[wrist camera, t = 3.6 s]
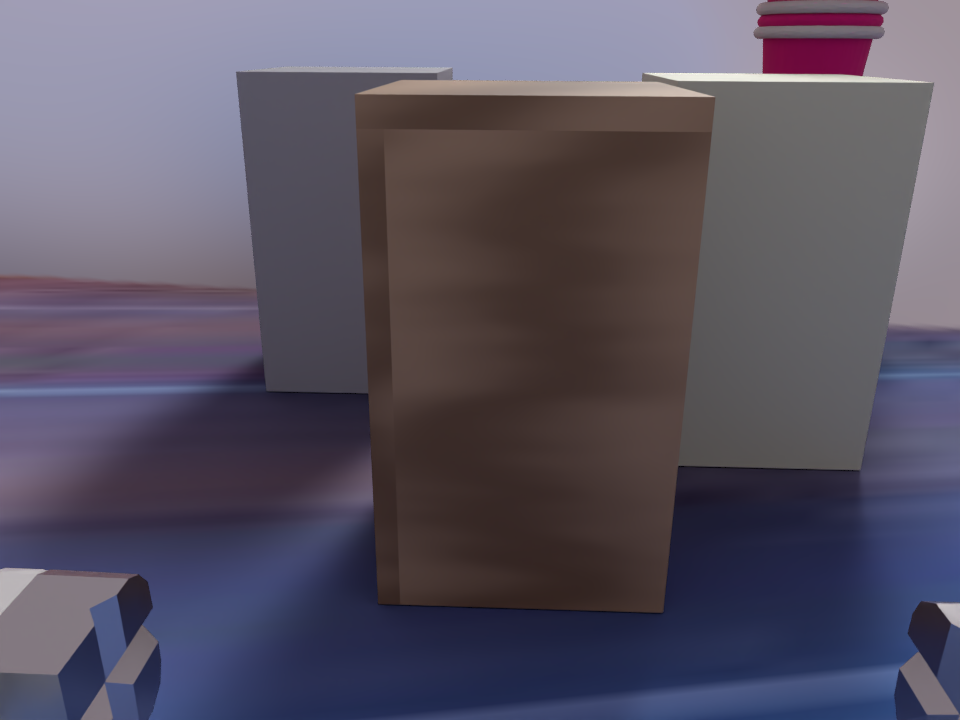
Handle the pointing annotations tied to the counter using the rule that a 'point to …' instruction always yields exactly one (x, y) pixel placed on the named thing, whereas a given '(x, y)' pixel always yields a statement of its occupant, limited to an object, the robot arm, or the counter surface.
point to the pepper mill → (818, 35)
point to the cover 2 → (796, 263)
